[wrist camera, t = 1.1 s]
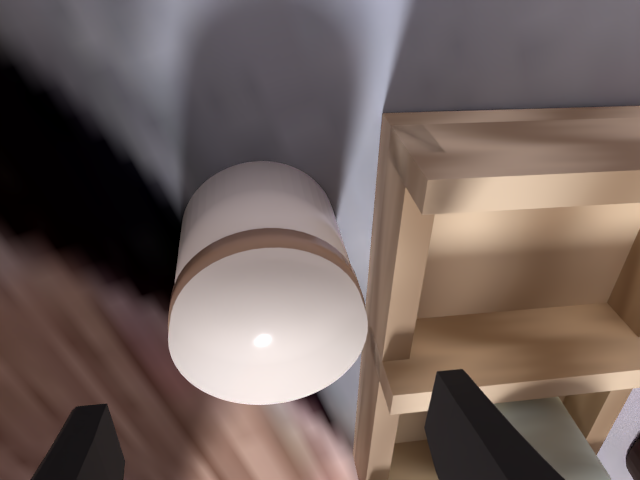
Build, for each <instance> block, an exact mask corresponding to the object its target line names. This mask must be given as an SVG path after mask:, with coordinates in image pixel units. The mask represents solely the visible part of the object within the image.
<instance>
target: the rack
mask: <svg viewBox="0 0 640 480" xmlns="http://www.w3.org/2000/svg"><path fill="white" fill-rule="evenodd" d="M365 310H366V314H367V320H368V332H367V337H366V341H365V344H364V347H363V349H362V354H361V365H360V377H359V388H358V400H357V412H356V423H355V435H354V447H353V457H354V461H355V466H356V470H357V475H358V479H359V480H439V479H438V476H437V474H436V471H435V467H434V463H433V460H432V456H431V453H430V449H429V445H428V441H427V437H426V433H425V429H424V426H425V421H426V417H427V413H428V408H429V404H430V399H431V395H432V390H433V386H434V382H435V377H436V373H437V371H446V370H456V369H463V370H464V371H465V372H466V373H467V374H468V375H469V376H470V377H471V379H472V380H473V381H474V382H475V383H476V384H477V386H478V387H479V388H480V389H481V390H482V391H483V393H484V394H485V395H486V396H487V397H488V398H489V399H490V401H491V402H492V403H493V404H494V405H495V406H496V407H497V409H498V410H499V411H500V412H501V413H502V414H503V415H504V416H505V418H506V419H507V420H508V421H509V422H510V423H511V424H512V425H513V426H514V427H515V429H516V430H517V431H518V432H519V433H520V434H521V435H522V436H523V437H524V438H525V439H526V440H527V441H528V442H529V443H530V444H531V446H532V447H533V448H534V449H535V450H536V451H537V452H538V453H539V454H540V455H541V456H542V457H543V458H544V459H545V460H546V461H547V462H548V463H549V464H550V465H551V466H552V467H553V468H554V469H555V470H556V471H557V472H558V473H559V474H560V475H561V476H562V477H563V478H564V479H565V480H611V478H610V476H609V474H608V473H607V471H606V470H605V468H604V467H603V465H602V463H601V462H600V460H599V459H598V457H597V456H596V455H597V453H598V451H599V450H600V448H601V446H602V444H603V442H604V440H605V439H606V437H607V435H608V433H609V431H610V429H611V428H612V426H613V424H614V422H615V420H616V418H617V417H618V415H619V413H620V411H621V409H622V407H623V406H624V404H625V402H626V400H627V398H628V396H629V394H630V393H631V391H632V389H633V388H640V106H616V107H581V108H545V109H510V110H475V111H440V112H405V113H383V115H382V125H381V135H380V145H379V156H378V167H377V179H376V191H375V202H374V214H373V225H372V237H371V249H370V260H369V272H368V284H367V295H366V307H365Z"/></svg>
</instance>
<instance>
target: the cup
mask: <svg viewBox="0 0 640 480" xmlns="http://www.w3.org/2000/svg"><path fill="white" fill-rule="evenodd" d="M367 332H368V320H367V314H366V310H365V303H364V298H363V295H362V292H361V289H360V286H359V283H358V280H357V277H356V274H355V272H354V270H353V268H352V266H351V264H350V261H349V258H348V255H347V252H346V249H345V246H344V243H343V240H342V237H341V234H340V231H339V227H338V224H337V221H336V218H335V215H334V212H333V209H332V206H331V203H330V201H329V199H328V197H327V195H326V193H325V192H324V190H323V189H322V188H321V186H320V185H319V184H318V183H317V182H316V181H315V180H314V179H313V178H311V177H310V176H309V175H307V174H306V173H304V172H302V171H301V170H299V169H297V168H294V167H292V166H289V165H286V164H282V163H278V162H271V161H253V162H245V163H241V164H237V165H234V166H231V167H229V168H226V169H224V170H222V171H220V172H218V173H216V174H215V175H213V176H212V177H211V178H209V179H208V180H207V181H205V182H204V183H203V184H202V185H201V186H200V187H199V188H198V189H197V191H196V192H195V193H194V194H193V196H192V198H191V199H190V201H189V202H188V205H187V207H186V209H185V212H184V216H183V220H182V228H181V236H180V244H179V252H178V260H177V268H176V276H175V284H174V286H173V290H172V294H171V300H170V308H169V316H168V344H169V351H170V354H171V358H172V360H173V362H174V364H175V366H176V367H177V369H178V370H179V371H180V373H181V374H182V375H183V376H184V377H185V378H186V379H187V380H188V381H189V382H190V383H191V384H193V385H194V386H195V387H197V388H198V389H200V390H202V391H203V392H205V393H207V394H209V395H212V396H214V397H216V398H220V399H223V400H226V401H230V402H235V403H241V404H252V405H265V404H277V403H283V402H288V401H292V400H297V399H300V398H303V397H306V396H308V395H311V394H313V393H315V392H318V391H320V390H321V389H323V388H325V387H327V386H329V385H330V384H332V383H333V382H335V381H336V380H337V379H339V378H340V377H341V376H342V375H343V374H345V373H346V371H347V370H348V369H349V368H350V367H351V366H352V365H353V364H354V362H355V361H356V360H357V358H358V357H359V355H360V353H361V351H362V349H363V347H364V344H365V341H366V337H367Z"/></svg>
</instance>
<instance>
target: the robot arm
mask: <svg viewBox="0 0 640 480" xmlns="http://www.w3.org/2000/svg"><path fill="white" fill-rule="evenodd" d="M424 429H425V433H426V437H427V441H428V445H429V449H430V453H431V456H432V460H433V463H434V467H435V471H436V474H437V476H438V479H439V480H565V479H564V478H563V477H562V476H561V475H560V474H559V473H558V472H557V471H556V470H555V469H554V468H553V467H552V466H551V465H550V464H549V463H548V462H547V461H546V460H545V459H544V458H543V457H542V456H541V455H540V454H539V453H538V452H537V451H536V450H535V449H534V448H533V447H532V446H531V444H530V443H529V442H528V441H527V440H526V439H525V438H524V437H523V436H522V435H521V434H520V433H519V432H518V431H517V430H516V429H515V427H514V426H513V425H512V424H511V423H510V422H509V421H508V420H507V419H506V418H505V416H504V415H503V414H502V413H501V412H500V411H499V410H498V409H497V407H496V406H495V405H494V404H493V403H492V402H491V401H490V399H489V398H488V397H487V396H486V395H485V394H484V393H483V391H482V390H481V389H480V388H479V387H478V386H477V384H476V383H475V382H474V381H473V380H472V379H471V377H470V376H469V375H468V374H467V373H466V372H465V371H464V370H463V369H456V370H446V371H437V373H436V377H435V382H434V386H433V390H432V395H431V399H430V404H429V408H428V413H427V417H426V421H425V426H424ZM124 466H125V460H124V456H123V453H122V450H121V447H120V444H119V440H118V437H117V434H116V431H115V428H114V424H113V421H112V418H111V415H110V412H109V408H108V405H107V404H98V405H88V406H78V407H76V408H75V409H73V410H72V412H71V414H70V415H69V417H68V419H67V421H66V422H65V424H64V426H63V428H62V429H61V431H60V433H59V434H58V436H57V438H56V439H55V441H54V443H53V445H52V446H51V448H50V449H49V451H48V453H47V454H46V456H45V458H44V459H43V461H42V462H41V464H40V466H39V467H38V469H37V470H36V472H35V474H34V475H33V477H32V478H31V480H123V477H124Z"/></svg>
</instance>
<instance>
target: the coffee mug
mask: <svg viewBox="0 0 640 480" xmlns="http://www.w3.org/2000/svg"><path fill="white" fill-rule="evenodd" d="M626 467H627V469H628V471H629V473H630V474H631V476H632V477H633V479H634V480H640V438H639V439H638V440H637V441H636V443H635V444H634V445H633V447H632V448H631V450H630V452H629V454H628V456H627V460H626Z"/></svg>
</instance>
